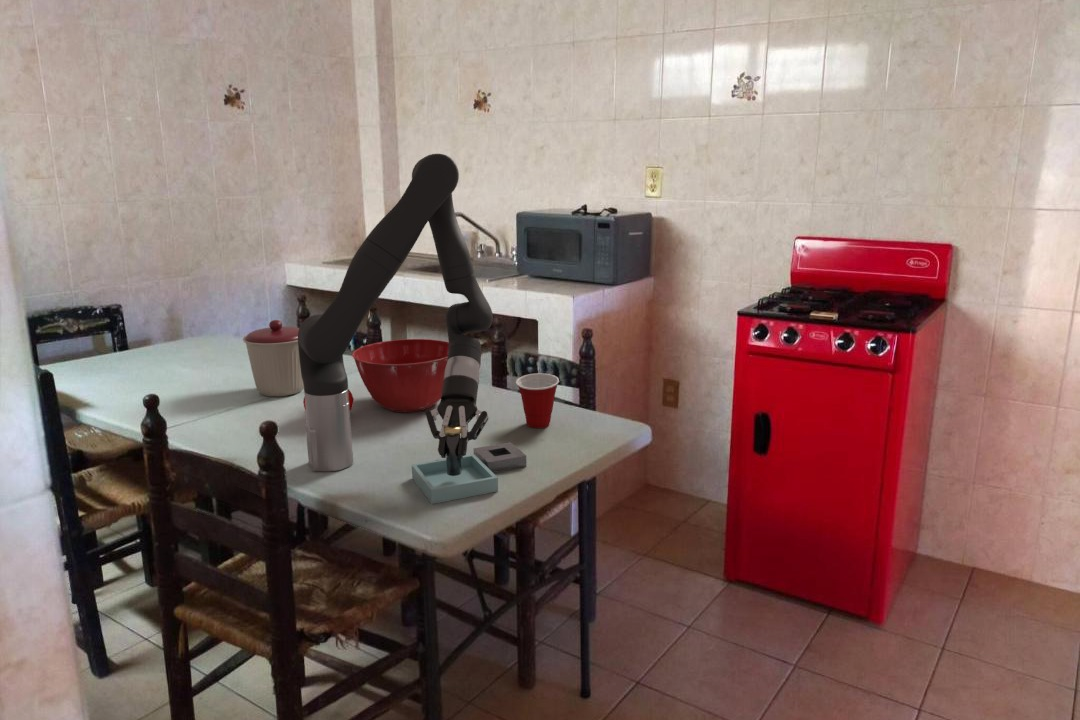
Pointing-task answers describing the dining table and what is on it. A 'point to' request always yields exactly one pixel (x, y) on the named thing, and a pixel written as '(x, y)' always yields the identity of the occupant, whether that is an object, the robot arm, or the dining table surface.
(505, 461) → the grey square socket base
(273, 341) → the canister
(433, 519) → the dining table surface
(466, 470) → the tray
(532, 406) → the plastic cup
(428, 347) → the mixing bowl
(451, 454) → the pin
